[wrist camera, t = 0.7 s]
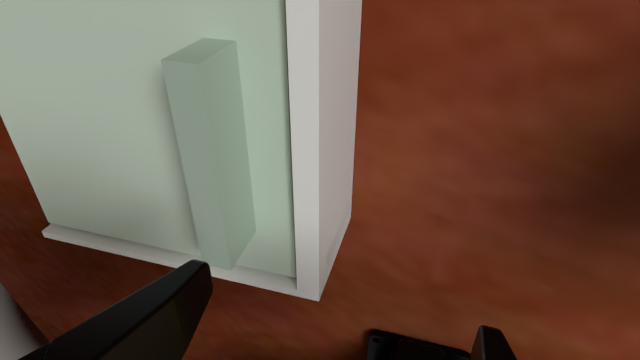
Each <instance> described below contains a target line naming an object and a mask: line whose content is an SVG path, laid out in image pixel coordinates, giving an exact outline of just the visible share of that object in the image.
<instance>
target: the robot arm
mask: <svg viewBox="0 0 640 360" xmlns="http://www.w3.org/2000/svg"><path fill="white" fill-rule="evenodd" d="M212 291H213V282H212V276H211V271H210V266H209V264H208V263H207V262H205V261H200V260H196V259H193V260H190V261H188V262H186V263H184V264H183V265H181V266H179V267H178V268H176V269H174V270H172V271H171V272H169V273H167V274H166V275H164V276H162V277H160V278H159V279H157V280H155V281H153V282H152V283H150V284H148V285H147V286H145V287H143V288H141V289H140V290H138V291H136V292H135V293H133V294H131V295H129V296H128V297H126V298H124V299H122V300H121V301H119V302H117V303H116V304H114V305H112V306H110V307H109V308H107V309H105V310H104V311H102V312H100V313H98V314H97V315H95V316H93V317H91V318H90V319H88V320H86V321H85V322H83V323H81V324H79V325H78V326H76V327H74V328H73V329H71V330H69V331H67V332H66V333H64V334H62V335H60V336H59V337H57V338H55V339H54V340H53V341H52V342H49V343H47V344H45V345H43V346H41V347H40V348H38V349H36V350H35V351H33V352H31V353H29V354H27V355H26V356H24V357H22V358H20V359H18V360H181V359H182V357H183V355H184V354H185V352H186V350H187V348H188V346H189V344H190V342H191V339H192V337H193V335H194V333H195V330H196V328H197V326H198V324H199V321H200V319H201V317H202V315H203V313H204V310H205V308H206V306H207V304H208V301H209V299H210V297H211V294H212ZM367 360H517V359H516V357H515V355H514V353H513V351H512V349H511V348H510V346H509V344H508V342H507V340H506V338H505V337H504V335H503V333H502V331H501V330H499V329H497V328H493V327H489V326H484V325H482V326H480V327H479V329H478V332H477V335H476V338H475V341H474V344H473V347H472V351H471V354H469V353H467V352H464V351H460V350H456V349H452V348H448V347H443V346H439V345H435V344H431V343H427V342H423V341H419V340H415V339H410V338H406V337H402V336H398V335H394V334H390V333H386V332H382V331H376V330H375V331H372V332H371V333H370V337H369V344H368V354H367Z"/></svg>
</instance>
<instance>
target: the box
mask: <svg viewBox="0 0 640 360" xmlns="http://www.w3.org/2000/svg"><path fill="white" fill-rule="evenodd" d="M361 11H362V0H286V25H287V50H288V74H289V99H290V124H291V149H292V174H293V198H294V223H295V248H296V273H297V276H296V278H294V277H289V276H285V275H280V274H276V273H271V272H267V271H262V270H258V269H253V268H249V267H244V266H240V265H234V267H233V268H232V270H226V269H222V268H217V267H213V266H210V271H211V276H212V277H217V278H221V279H225V280H229V281H234V282H238V283H242V284H247V285H251V286H255V287H259V288H264V289H268V290H272V291H276V292H281V293H285V294H289V295H294V296H298V297H302V298H306V299H311V300H315V301H319V300H320V297H321V295H322V292H323V289H324V287H325V284H326V281H327V279H328V276H329V274H330V271H331V268H332V266H333V263H334V260H335V258H336V255H337V252H338V250H339V247H340V244H341V242H342V239H343V237H344V234H345V231H346V229H347V226H348V223H349V221H350V218H351V203H352V184H353V165H354V146H355V127H356V107H357V88H358V69H359V50H360V30H361ZM42 234H43V236H44V237H46V238H50V239H54V240H59V241H63V242H67V243H71V244H76V245H80V246H84V247H88V248H93V249H97V250H101V251H106V252H110V253H114V254H118V255H123V256H127V257H131V258H135V259H140V260H144V261H148V262H153V263H157V264H161V265H165V266H170V267H174V268H178V267H179V266H181V265H183V264H184V263H186V262H188V261H190V260H193V259H196V260H200V261H202V258H201V257H200V256H195V255H191V254H186V253H182V252H177V251H173V250H168V249H164V248H159V247H155V246H150V245H146V244H141V243H137V242H133V241H128V240H124V239H119V238H115V237H110V236H106V235H101V234H97V233H92V232H88V231H83V230H79V229H74V228H70V227H65V226H61V225H56V224H52V223H51V224H50V225H49V226H48V227H46V228H45V229H44V230H42Z"/></svg>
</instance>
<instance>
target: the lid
mask: <svg viewBox="0 0 640 360" xmlns="http://www.w3.org/2000/svg"><path fill="white" fill-rule="evenodd" d="M0 115H1V117H2V119H3V121H4V124H5V126H6V128H7V130H8V133H9V135H10V137H11V139H12V142H13V144H14V146H15V148H16V151H17V153H18V155H19V157H20V160H21V162H22V164H23V166H24V169H25V171H26V173H27V175H28V177H29V180H30V182H31V184H32V186H33V189H34V191H35V193H36V195H37V198H38V200H39V202H40V204H41V207H42V209H43V211H44V213H45V216H46V218H47V220H48V222H49V223H52V224H56V225H61V226H65V227H70V228H74V229H79V230H83V231H88V232H92V233H97V234H101V235H106V236H110V237H115V238H119V239H124V240H128V241H133V242H137V243H141V244H146V245H150V246H155V247H159V248H164V249H168V250H173V251H177V252H182V253H186V254H191V255H195V256H200V257H201V258H202V261H205V262H207V263H208V264H209V266H213V267H217V268H222V269H226V270H232V268H233V267H234V265H240V266H244V267H249V268H253V269H258V270H262V271H267V272H271V273H276V274H280V275H285V276H289V277H294V278H296V276H297V273H296V248H295V223H294V198H293V174H292V149H291V124H290V99H289V74H288V50H287V25H286V0H0Z"/></svg>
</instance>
